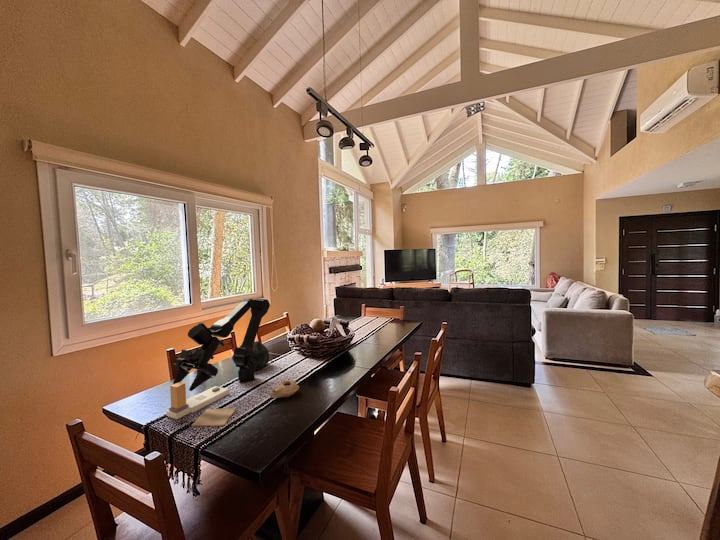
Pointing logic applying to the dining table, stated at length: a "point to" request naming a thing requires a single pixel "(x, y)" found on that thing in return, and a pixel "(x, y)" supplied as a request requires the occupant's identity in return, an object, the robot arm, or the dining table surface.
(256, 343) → the squash
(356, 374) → the dining table surface
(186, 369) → the robot arm
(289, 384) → the pottery oil lamp
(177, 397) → the tan tall block
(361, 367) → the dining table surface
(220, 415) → the cork mat
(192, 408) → the power strip
